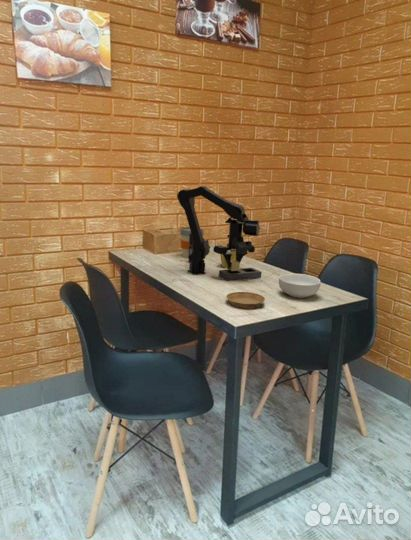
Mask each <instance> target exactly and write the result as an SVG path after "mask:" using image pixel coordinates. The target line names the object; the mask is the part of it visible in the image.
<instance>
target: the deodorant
mask: <svg viewBox="0 0 411 540" xmlns="http://www.w3.org/2000/svg"><path fill="white" fill-rule="evenodd" d="M192 253H193V238H192V234H191V233H190V235H189V256H190V255H191V254H192ZM187 259H188V261H187V262H188V264H190V261H189V258H187Z"/></svg>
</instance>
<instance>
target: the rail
mask: <svg viewBox="0 0 411 540" xmlns="http://www.w3.org/2000/svg"><path fill="white" fill-rule="evenodd" d="M262 273H263V272H262V271H261V270H259V269H257V268H254V267H243V268H240V267H239V270H237V271H230V270H228V269H219V271H218V277H219V278H221V279H223V280H224V281H226V282H232V281H243V280H254V279H261V278H262Z"/></svg>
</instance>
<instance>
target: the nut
mask: <svg viewBox="0 0 411 540" xmlns="http://www.w3.org/2000/svg"><path fill="white" fill-rule="evenodd" d="M240 263H241V262H239V261H237V260H231V263H230V268H228V266H227V268H226V270H230V271H237V270H239V269H240Z"/></svg>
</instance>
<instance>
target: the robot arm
mask: <svg viewBox="0 0 411 540" xmlns="http://www.w3.org/2000/svg"><path fill="white" fill-rule="evenodd" d="M176 194H177V195H176V198H177V200H178V203H179V204H180V206H181V208H182V209H183V211H184V212H185V216H186V220H187V223H188V226H189V227H190V231H191V234H192V238H193V253H192V254H191V255H190V256H188V258H189V261H190V263H189V265H188V266H189V268H188V270H187V272H188V273H190V274H191V275H205V274H206V272H205V271H206V263H205V259H206V257H207V256H208V255H209V254H210V249H211V246H210V244H209V239H207V240H206V239H205V238H204V235H203V236H202V233H201V230H200V229H201V226H200V223H199V219H198V216H197V212H196V209H195V204H196V203H195V202H196V199H195V198H197V197H203V198H204V199H206V200H208V201H210V202H211V203H213V204H214V205H216V207H219V208H220V209H222V210H223V211H224V212H225V213H226V214H227V216H229V217H228V218H227V219H226V221H224V223H226V224H229V230H228V234H227V235H226V236H227V238H228V243H226V245H222V244H221V245H214V247H213V252H214V253H216V254H218V255H220V254H223V256H224V258H225V260H226V263H227V266H228V268H230V263H231V256H232V254H231V251H236V260H237V261H239V262H240V263H241V262H242V259H243V258H244V257H245V256H247V255H248V253H255V252H256V249H255V246H254V244H253V243H252V242H251V241H244V236H243V234H244V235H245V236H253V237H258V236H259V234H260V228H261V226H260V223H259V222H260V221H259V219H258V220H257V219H256V220H253V219H249V217H248V216H247V214H246V210H245V207H244V206H243V205H241V204H239V203H236V202H233V201H229V200H227V199H226V198H224V197H223V196H221V195H220V194H217V193H216V192H215V191H213V190H211V189H210V188H208V187H207V186H205V185H201V186H199V187H195V188H192V189H191V188H186V189H185V188H184V189H180V190H179V191H178V192H177V193H176ZM225 246H228V247H225ZM188 258H187V259H188Z"/></svg>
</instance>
